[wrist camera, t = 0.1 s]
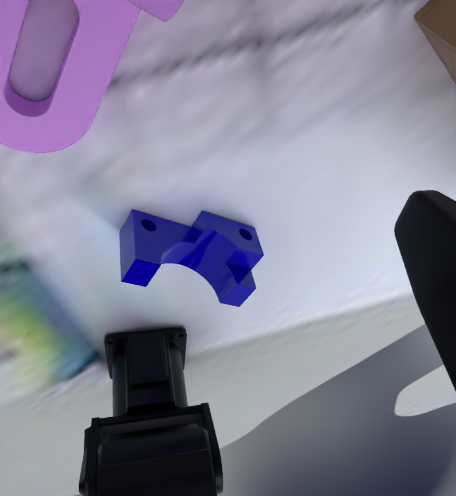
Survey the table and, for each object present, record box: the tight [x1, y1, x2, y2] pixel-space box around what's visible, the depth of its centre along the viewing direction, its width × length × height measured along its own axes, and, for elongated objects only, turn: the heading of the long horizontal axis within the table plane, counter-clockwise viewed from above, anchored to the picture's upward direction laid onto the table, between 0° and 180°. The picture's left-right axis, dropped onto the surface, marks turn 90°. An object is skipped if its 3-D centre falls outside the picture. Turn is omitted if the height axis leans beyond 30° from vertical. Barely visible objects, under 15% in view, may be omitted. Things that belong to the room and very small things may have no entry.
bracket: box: [0, 0, 184, 153], centre depth 15 cm, size 13×6×7 cm, turn 148°
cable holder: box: [120, 209, 264, 307], centre depth 27 cm, size 8×4×4 cm, turn 58°
